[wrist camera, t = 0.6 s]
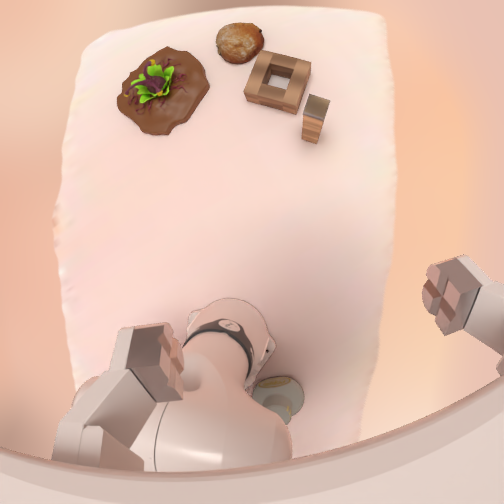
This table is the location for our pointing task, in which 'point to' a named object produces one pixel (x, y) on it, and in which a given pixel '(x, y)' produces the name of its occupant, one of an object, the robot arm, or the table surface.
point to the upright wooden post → (314, 117)
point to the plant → (163, 91)
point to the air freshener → (280, 396)
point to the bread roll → (239, 42)
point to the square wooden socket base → (273, 95)
